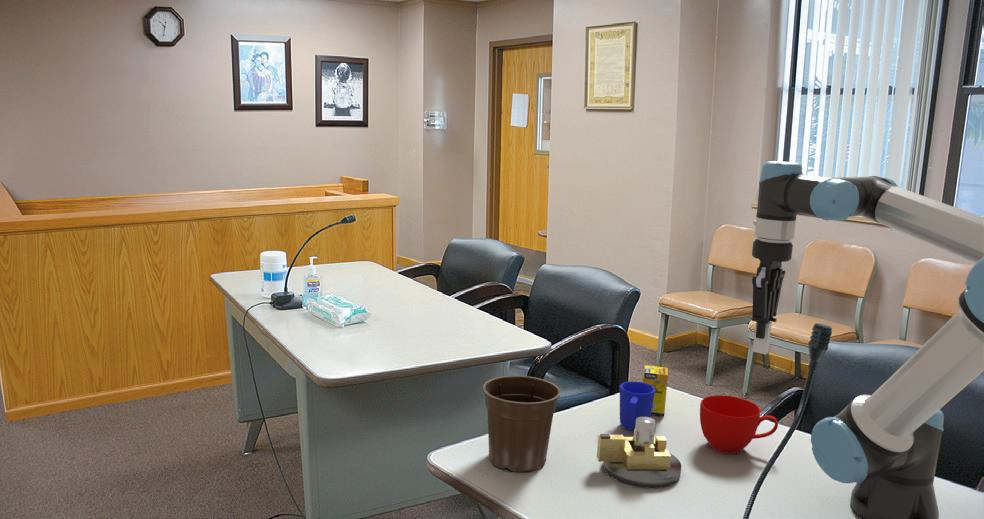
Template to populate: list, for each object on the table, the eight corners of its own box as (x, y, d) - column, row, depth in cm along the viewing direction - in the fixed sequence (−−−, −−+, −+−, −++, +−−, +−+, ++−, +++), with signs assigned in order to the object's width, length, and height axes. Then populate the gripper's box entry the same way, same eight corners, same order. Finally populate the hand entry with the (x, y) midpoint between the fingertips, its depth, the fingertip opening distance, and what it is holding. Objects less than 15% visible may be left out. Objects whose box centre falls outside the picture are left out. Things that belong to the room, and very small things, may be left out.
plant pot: (527, 437, 177) (531, 370, 174) (571, 466, 164) (576, 394, 161) (465, 452, 169) (468, 381, 165) (507, 484, 155) (511, 408, 152)
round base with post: (693, 468, 165) (697, 420, 163) (659, 496, 153) (664, 444, 151) (626, 446, 175) (629, 399, 173) (589, 470, 163) (592, 421, 160)
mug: (611, 437, 179) (615, 396, 177) (619, 418, 191) (622, 379, 189) (648, 443, 177) (651, 401, 175) (653, 423, 188) (656, 384, 186)
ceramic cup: (776, 467, 168) (781, 423, 166) (695, 454, 172) (699, 412, 170) (772, 442, 180) (777, 402, 178) (697, 431, 184) (701, 391, 182)
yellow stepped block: (657, 450, 168) (659, 426, 167) (669, 469, 160) (671, 445, 158) (593, 449, 167) (595, 426, 166) (602, 469, 158) (604, 444, 157)
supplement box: (664, 417, 192) (668, 375, 190) (640, 414, 194) (643, 372, 191) (664, 408, 198) (668, 367, 196) (640, 405, 199) (643, 364, 197)
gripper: (765, 233, 163) (753, 341, 168) (743, 240, 153) (730, 355, 157) (802, 238, 158) (788, 349, 163) (781, 246, 148) (767, 364, 153)
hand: (760, 352), depth 160 cm, fingers closed
